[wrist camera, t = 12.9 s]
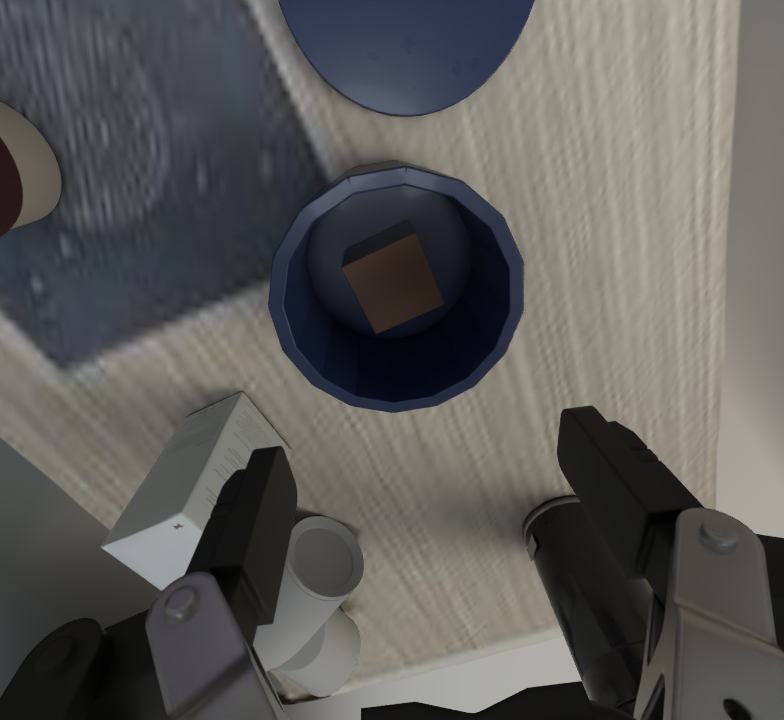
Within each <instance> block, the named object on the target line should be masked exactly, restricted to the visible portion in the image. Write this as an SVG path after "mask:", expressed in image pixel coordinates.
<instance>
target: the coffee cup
mask: <svg viewBox="0 0 784 720" xmlns="http://www.w3.org/2000/svg"><path fill="white" fill-rule="evenodd" d="M61 189H62V179H61V174H60V169H59V165H58V163H57V160H56V157H55V155H54V153H53V151H52V149H51V148H50V146H49V144H48V143H47V141H46V140H45V139H44V137H43V136H42V135H41V133H40V132H39V131H38V130H37V129H36V127H35V126H34V125H33V124H32V123H31V122H30V121H28V120H27V119H26V118H25V117H24V116H22V115H21V114H20V113H19V112H17V111H16V110H14V109H13V108H11V107H9V106H8V105H6V104H4V103H2V102H0V236H2V235H3V234H5V233H6V232H8V231H9V230H10V229H13V228H16V227H19V226H22V225H25V224H28V223H31V222H34V221H37V220H40V219H42V218H43V217H45V216H46V215H48V214H49V213H50V212H51V211H52V210H53V209H54V208H55V206H56V205H57V203H58V201H59V198H60V194H61Z"/></svg>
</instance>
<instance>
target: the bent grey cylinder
mask: <svg viewBox="0 0 784 720" xmlns="http://www.w3.org/2000/svg"><path fill="white" fill-rule="evenodd" d="M363 569H364V561H363V555H362V551H361V548H360V546H359V544H358V542H357V540H356V538H355V537H354V536H353V534H352V533H351V532H350V531H349V530H348V529H347V528H346V527H345V526H344V525H342V524H341V523H339V522H338V521H336V520H334V519H331V518H328V517H323V516H313V517H308V518H306V519H303V520H302V521H300V522H299V523H298V524H297V525H295V527H294V528H293V529H292V532H291V537H290V542H289V547H288V552H287V557H286V562H285V567H284V572H283V577H282V582H281V587H280V592H279V597H278V602H277V607H276V612H275V617H274V622H273V624H270V625H262V626H257V630H256V634H255V639H254V643H253V646H254V647H255V649H256V651H257V654H258V656H259V658H260V660H261V662H262V664H263V666H264V668H265V670H266V671H268V670H271V669H274V670H276V671H277V672H279V673H280V674H282V675H283V676H285V677H286V678H288V679H290V680H291V681H293V682H294V683H296V684H297V685H299V686H300V687H302V688H303V689H305V690H306V691H308V692H309V693H311V694H313V695H315V696H318V697H324V696H328V695H331V694H333V693H335V692H336V691H337V690H339V689H340V688H341V687H342V686H343V685H344V684H345V683H346V681H347V680H348V679H349V677H350V675H351V674H352V672H353V670H354V668H355V666H356V663H357V660H358V656H359V652H360V634H359V630H358V627H357V625H356V624H355V622H354V621H353V620H352V619H351V618H350V617H348V616H347V615H346V614H345V613H344V612H343V611H341V610H340V609H339V608H338V607H339V606H340V605H341V604H342V602H343V601H344V600H345V599H346V598H347V597H348V596H349V595H350V593H351V592H352V591H353V590H354V589H355V588H356V587H357V585H358V584H359V582H360V580H361V578H362V575H363Z"/></svg>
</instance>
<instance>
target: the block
mask: <svg viewBox="0 0 784 720" xmlns="http://www.w3.org/2000/svg"><path fill="white" fill-rule="evenodd" d="M341 269H342V271H343V273H344V275H345V277H346V279H347V280H348V282H349V284H350V286H351V288H352V290H353V292H354V294H355V296H356V298H357V300H358V301H359V303H360V305H361V307H362V309H363V311H364V313H365V315H366V317H367V319H368V321H369V322H370V324H371V326H372V328H373V330H374V332H375V334H378V333H380V332H383V331H385V330H387V329H390V328H392V327H394V326H397V325H399V324H401V323H403V322H406V321H408V320H410V319H413V318H415V317H417V316H419V315H422V314H424V313H426V312H429V311H431V310H433V309H436V308H438V307H440V306H442V305H445V302H444V300H443V297H442V295H441V293H440V290H439V288H438V285H437V283H436V280H435V278H434V275H433V273H432V270H431V268H430V265H429V263H428V260H427V258H426V256H425V253H424V251H423V248H422V246H421V243H420V241H419V238H418V236H417V233H416V231H415V230H414V228H413V226H412V224H411V223H410V221H409V219H407V220H405V221H403V222H401V223H398V224H396V225H394V226H392V227H390V228H388V229H386V230H384V231H382V232H380V233H378V234H375V235H373V236H371V237H369V238H367V239H365V240H363V241H361V242H359V243H357V244H355V245H353V246H350V247H348V248H346V249H345V252H344V257H343V261H342V266H341Z"/></svg>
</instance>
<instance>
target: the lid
mask: <svg viewBox="0 0 784 720" xmlns="http://www.w3.org/2000/svg"><path fill="white" fill-rule="evenodd" d="M534 1H535V0H278V2H279V4H280V7H281V9H282V12H283V15H284V17H285V20H286V22H287V25H288V27H289V28H290V30H291V32H292V34H293V36H294V38H295V40H296V42H297V44H298V45H299V47H300V49H301V50H302V52H303V53H304V55H305V56H306V58H307V59H308V61H309V62H310V63H311V65H312V66H313V67H314V68H315V69H316V71H317V72H318V73H319V74H320V76H321V77H322V78H323V79H324V80H325V81H326V82H328V83H329V84H330V85H331V86H332V87H333V88H334V89H335V90H336V91H338V92H339V93H340V94H342V95H343V96H344V97H346V98H347V99H349V100H350V101H352V102H354V103H356V104H358V105H360V106H361V107H363V108H366V109H369V110H371V111H374V112H377V113H381V114H386V115H390V116H402V117H411V116H421V115H426V114H430V113H434V112H438V111H440V110H443V109H445V108H447V107H450V106H452V105H454V104H456V103H458V102H459V101H461V100H463V99H464V98H466V97H468V96H469V95H471V94H472V93H473V92H474V91H476V90H477V89H478V88H479V87H481V86H482V85H483V84H484V83H485V82H486V81H487V80H488V79H489V78H490V77H491V76H492V75H493V74H494V73H495V72H496V70H497V69H498V68H499V67H500V65H501V64H502V63H503V61H504V60H505V59H506V58H507V56H508V55H509V53H510V51H511V50H512V48H513V46H514V45H515V43H516V42H517V40H518V38H519V36H520V34H521V32H522V30H523V28H524V26H525V24H526V22H527V20H528V17H529V14H530V12H531V9H532V6H533V3H534Z"/></svg>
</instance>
